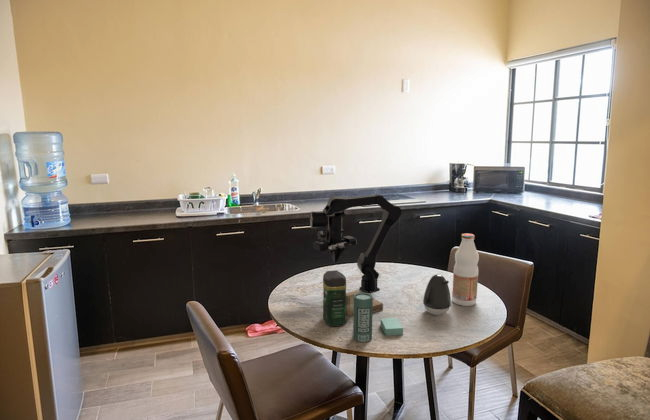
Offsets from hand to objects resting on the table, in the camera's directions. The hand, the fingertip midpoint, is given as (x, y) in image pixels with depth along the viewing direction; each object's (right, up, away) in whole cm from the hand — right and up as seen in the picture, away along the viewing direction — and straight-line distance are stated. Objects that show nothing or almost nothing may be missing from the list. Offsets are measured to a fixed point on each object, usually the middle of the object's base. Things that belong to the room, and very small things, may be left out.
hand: (335, 262), depth 189 cm
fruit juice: (+52, -15, -8) cm, 55 cm away
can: (+8, -21, -38) cm, 44 cm away
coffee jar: (-1, -19, -25) cm, 31 cm away
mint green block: (+19, -18, -29) cm, 38 cm away
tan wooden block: (+6, -17, -18) cm, 26 cm away
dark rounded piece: (+38, -17, -18) cm, 46 cm away
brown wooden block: (+11, -14, -11) cm, 21 cm away
